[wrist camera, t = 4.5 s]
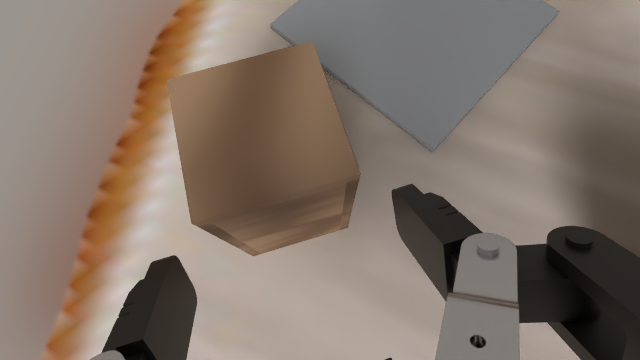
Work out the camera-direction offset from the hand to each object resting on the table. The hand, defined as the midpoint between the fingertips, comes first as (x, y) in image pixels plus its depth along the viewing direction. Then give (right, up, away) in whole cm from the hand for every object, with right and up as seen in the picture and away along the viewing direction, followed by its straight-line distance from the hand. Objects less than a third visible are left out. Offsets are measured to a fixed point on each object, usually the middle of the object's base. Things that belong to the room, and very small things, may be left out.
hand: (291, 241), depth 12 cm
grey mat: (+8, +15, +15) cm, 22 cm away
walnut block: (-1, +1, +10) cm, 10 cm away
